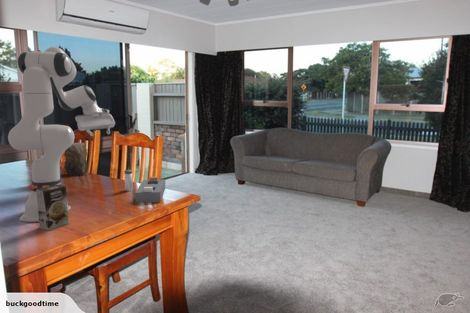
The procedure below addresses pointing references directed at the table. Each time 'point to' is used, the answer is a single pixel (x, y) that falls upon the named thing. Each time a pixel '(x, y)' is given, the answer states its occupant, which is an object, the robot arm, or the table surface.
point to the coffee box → (52, 207)
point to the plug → (128, 180)
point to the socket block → (150, 190)
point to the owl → (76, 159)
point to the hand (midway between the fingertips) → (100, 134)
